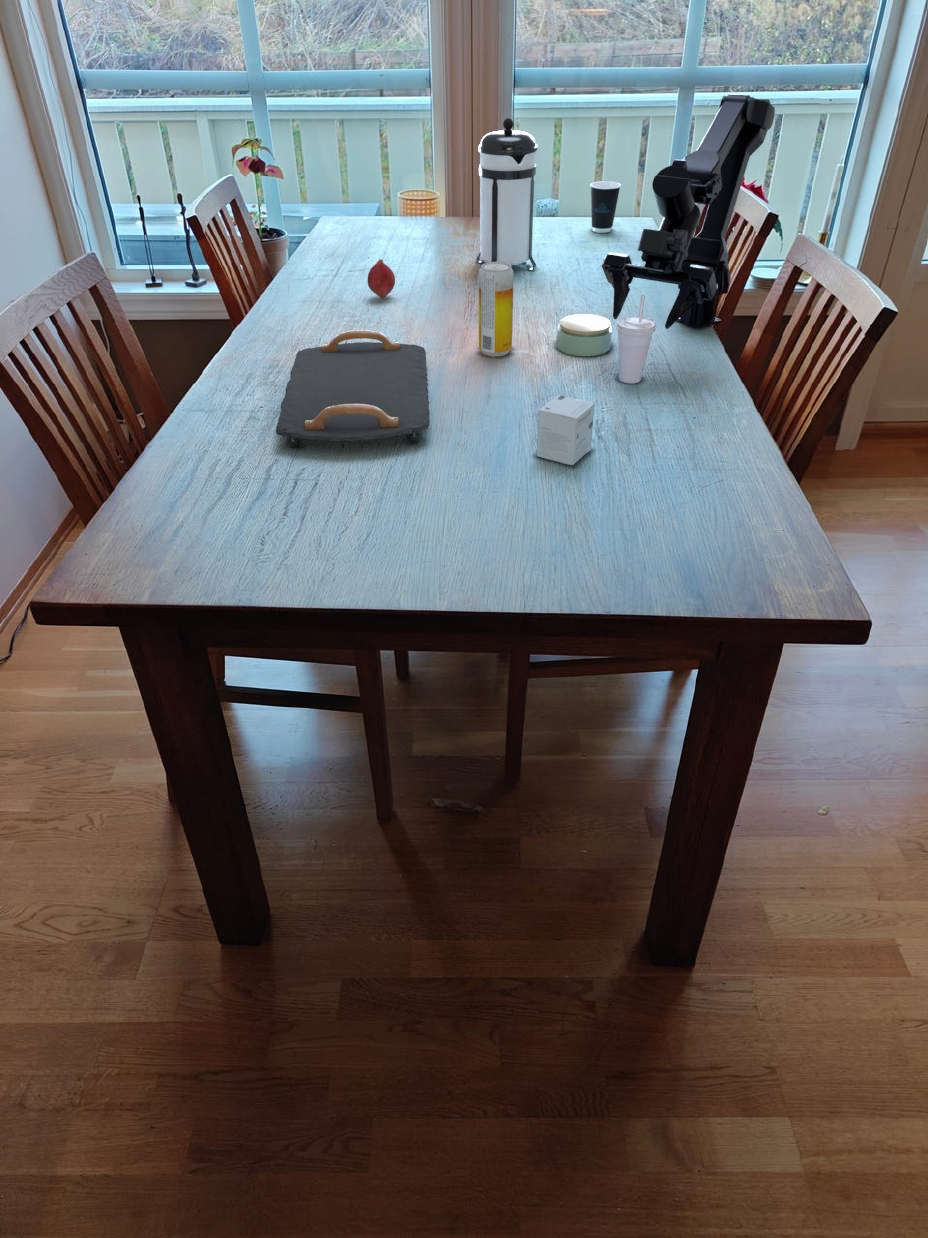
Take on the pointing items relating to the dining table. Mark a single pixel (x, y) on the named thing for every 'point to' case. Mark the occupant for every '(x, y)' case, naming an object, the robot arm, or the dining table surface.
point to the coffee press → (507, 196)
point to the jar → (584, 335)
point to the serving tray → (356, 391)
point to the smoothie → (633, 345)
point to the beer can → (495, 308)
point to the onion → (381, 279)
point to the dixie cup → (603, 204)
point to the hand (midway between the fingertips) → (640, 322)
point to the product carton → (565, 429)
